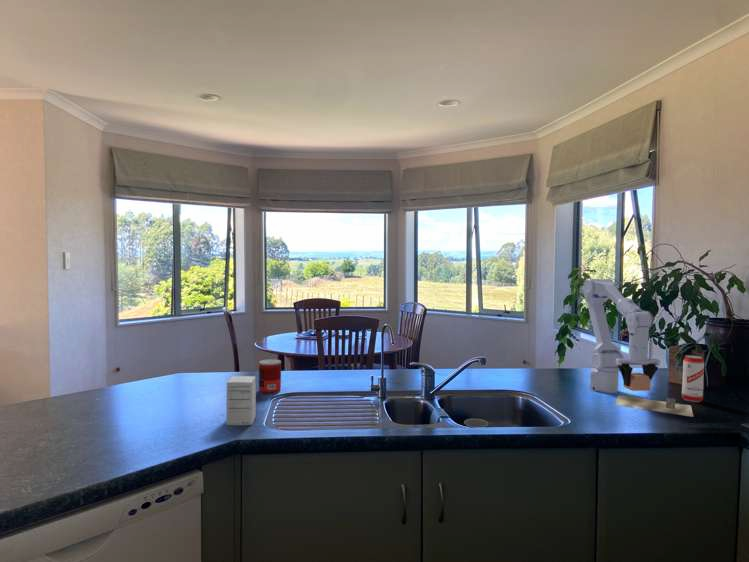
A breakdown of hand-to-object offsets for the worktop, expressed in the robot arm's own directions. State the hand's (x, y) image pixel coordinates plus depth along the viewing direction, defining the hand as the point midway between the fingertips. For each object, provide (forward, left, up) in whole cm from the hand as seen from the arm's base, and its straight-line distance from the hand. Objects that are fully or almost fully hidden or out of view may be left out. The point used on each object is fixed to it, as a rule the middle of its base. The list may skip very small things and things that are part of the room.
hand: (636, 385), depth 160 cm
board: (+5, 0, -7) cm, 9 cm away
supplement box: (-99, -87, -7) cm, 132 cm away
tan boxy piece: (0, 0, -1) cm, 1 cm away
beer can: (+17, +20, -7) cm, 27 cm away
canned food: (-115, -58, -7) cm, 129 cm away
